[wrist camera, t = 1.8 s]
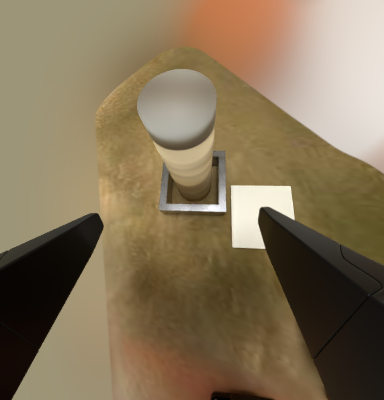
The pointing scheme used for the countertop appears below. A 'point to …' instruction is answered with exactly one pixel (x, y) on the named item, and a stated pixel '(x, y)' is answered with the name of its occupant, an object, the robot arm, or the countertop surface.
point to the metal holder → (198, 209)
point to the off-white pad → (255, 211)
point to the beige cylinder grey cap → (182, 127)
